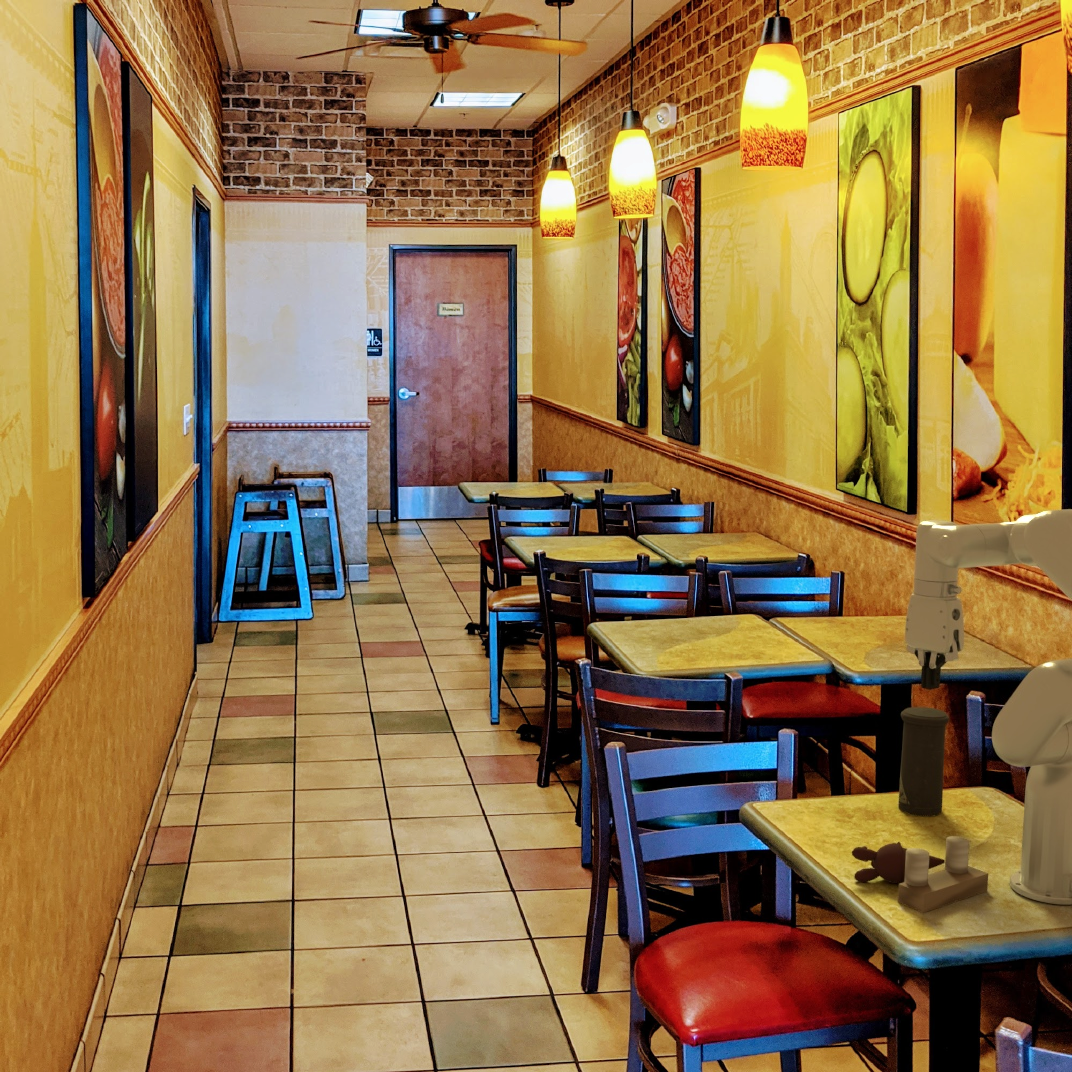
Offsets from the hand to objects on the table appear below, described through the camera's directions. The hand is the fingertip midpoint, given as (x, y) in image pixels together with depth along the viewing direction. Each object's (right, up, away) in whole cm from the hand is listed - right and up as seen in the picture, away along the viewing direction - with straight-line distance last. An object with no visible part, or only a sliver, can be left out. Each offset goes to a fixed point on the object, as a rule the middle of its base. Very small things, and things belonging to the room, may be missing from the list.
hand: (930, 687), depth 238 cm
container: (+3, -26, +15) cm, 30 cm away
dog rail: (-6, -31, -27) cm, 41 cm away
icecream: (-12, -30, -21) cm, 39 cm away
